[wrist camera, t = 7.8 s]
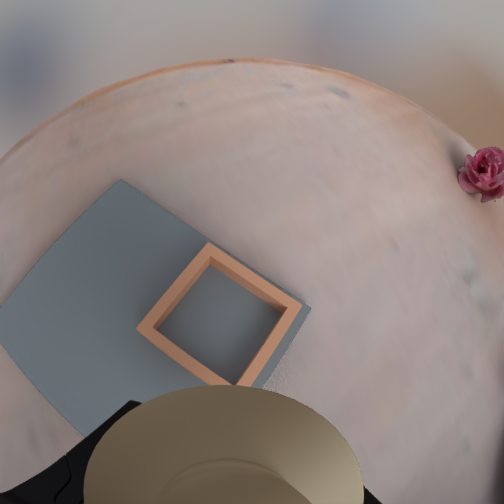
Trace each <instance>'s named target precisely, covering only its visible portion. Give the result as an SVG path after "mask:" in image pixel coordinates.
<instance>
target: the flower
mask: <svg viewBox="0 0 504 504" xmlns="http://www.w3.org/2000/svg"><path fill="white" fill-rule="evenodd" d="M503 170H504V151H503V150H501V149H500V148H497V147H488V148H484V149H480V150H478V151H477V152H476V154H475V156H474V157H472V156H471V155H470V154H469V155H467V157H466V159H465V167H461V168H460V169H459V170H458V171H459V172H460V173H459V176H458V177H459V184H460V186H461V187H462V188H463V189H464V190H465V191H466V192H468V193H470V194H475V193H481V194H482V198H481V202H482V203H484V202H487V201H490V200H493V199H498V198H501V197H503V196H504V172H503ZM495 202H496V201H495Z"/></svg>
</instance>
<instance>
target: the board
mask: <svg viewBox="0 0 504 504" xmlns="http://www.w3.org/2000/svg"><path fill="white" fill-rule="evenodd" d="M310 310H311V307H309V306H308V305H306V304H305V303H303V302H302V301H300V300H299V299H297V298H296V297H294V296H293V295H291V294H290V293H288V292H287V291H285V290H284V289H282V288H281V287H279V286H278V285H276V284H275V283H273V282H272V281H270V280H269V279H267V278H266V277H264V276H263V275H261V274H260V273H258V272H257V271H255V270H254V269H252V268H251V267H249V266H248V265H246V264H245V263H243V262H242V261H240V260H239V259H237V258H236V257H234V256H233V255H231V254H230V253H228V252H227V251H226V250H224V249H223V248H221V247H220V246H218V245H217V244H215V243H214V242H212V241H211V240H209V239H208V238H206V237H205V236H203V235H202V234H200V233H199V232H197V231H196V230H195V229H193V228H192V227H190V226H189V225H187V224H186V223H184V222H183V221H181V220H180V219H178V218H177V217H176V216H174V215H173V214H171V213H170V212H168V211H167V210H165V209H164V208H162V207H161V206H159V205H158V204H157V203H155V202H154V201H152V200H151V199H149V198H148V197H146V196H145V195H144V194H142V193H141V192H139V191H138V190H136V189H135V188H133V187H132V186H131V185H129V184H128V183H126V182H125V181H123V180H122V179H120V180H118V181H117V182H116V183H115V184H114V185H113V186H112V187H111V188H110V189H108V190H107V191H106V192H105V193H104V194H103V195H102V196H101V197H100V198H99V199H98V200H97V201H95V202H94V203H93V204H92V205H91V206H90V207H89V208H88V209H87V210H86V211H85V212H84V213H83V214H82V215H81V216H80V217H79V218H78V219H77V220H76V221H75V222H74V223H73V224H72V225H71V226H70V227H69V228H68V229H67V230H66V231H65V232H64V233H63V234H62V235H61V236H60V238H59V239H58V240H57V241H56V242H55V243H54V244H53V245H52V246H51V247H50V248H49V249H48V251H47V252H46V253H45V254H44V255H43V256H42V257H41V258H40V260H39V261H38V262H37V263H36V264H35V265H34V266H33V268H32V269H31V270H30V271H29V272H28V274H27V275H26V276H25V277H24V278H23V280H22V281H21V282H20V283H19V284H18V286H17V287H16V288H15V289H14V291H13V292H12V293H11V295H10V296H9V297H8V298H7V300H6V301H5V302H4V304H3V305H2V306H1V308H0V343H1V344H2V346H3V347H4V349H5V350H6V351H7V353H8V354H9V355H10V357H11V358H12V359H13V361H14V362H15V363H16V364H17V366H18V367H19V368H20V369H21V371H22V372H23V373H24V374H25V376H26V377H27V378H28V379H29V380H30V382H31V383H32V384H33V385H34V386H35V387H36V388H37V390H38V391H39V392H40V393H41V394H42V395H43V396H44V397H45V398H46V400H47V401H48V402H49V403H50V404H51V405H52V406H53V407H54V408H55V409H56V410H57V411H58V412H59V413H60V414H61V415H62V416H63V417H64V418H65V419H66V420H67V421H68V422H69V423H70V424H71V425H72V426H73V427H74V428H75V429H76V430H77V431H78V432H80V433H81V434H82V435H83V436H84V437H85V438H86V437H87V436H88V435H89V434H90V433H92V432H93V431H94V430H95V429H96V428H98V427H99V426H100V425H101V424H102V423H104V422H105V421H106V420H107V419H108V418H109V417H111V416H112V415H113V414H114V413H115V412H116V411H118V410H119V409H120V408H121V407H122V406H123V405H125V404H126V403H127V402H128V401H129V400H134V401H138V402H141V403H142V404H143V403H144V402H146V401H149V400H151V399H154V398H156V397H158V396H161V395H163V394H167V393H170V392H174V391H177V390H180V389H186V388H192V387H197V386H208V385H240V386H246V387H253V388H260V389H262V387H263V386H264V384H265V383H266V381H267V380H268V378H269V376H270V375H271V373H272V372H273V370H274V369H275V367H276V366H277V364H278V363H279V361H280V359H281V358H282V356H283V355H284V353H285V351H286V350H287V348H288V347H289V345H290V343H291V342H292V340H293V339H294V337H295V335H296V334H297V332H298V330H299V329H300V327H301V325H302V324H303V322H304V320H305V319H306V317H307V315H308V314H309V312H310Z"/></svg>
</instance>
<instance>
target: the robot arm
mask: <svg viewBox="0 0 504 504" xmlns="http://www.w3.org/2000/svg"><path fill="white" fill-rule="evenodd" d="M141 404H142V403H141V402H138V401H134V400H129V401H128V402H127V403H126V404H125V405H123V406H122V407H121V408H120V409H119V410H118V411H116V412H115V413H114V414H113V415H112V416H111V417H109V418H108V419H107V420H106V421H105V422H104V423H102V424H101V425H100V426H99V427H98V428H96V429H95V430H94V431H93V432H92V433H90V434H89V435H88V436H87V437H86V438H84V439H83V440H82V441H81V442H80V443H78V444H77V445H76V446H75V447H74V448H72V449H71V450H70V451H69V452H68V453H66V456H65V455H64V456H62V457H61V458H60V459H59V460H58V461H56V462H55V463H54V464H52V465H51V466H50V467H48V468H47V469H45V470H44V471H42V472H41V473H39V474H37V475H36V476H34V477H32V478H31V479H29V480H27V481H25V482H23V483H22V484H20V485H18V486H16V487H14V488H13V489H11V490H9V491H6V492H3V493H0V504H84V492H83V490H84V479H85V473H86V469H87V466H88V462H89V460H90V457H91V455H92V453H93V451H94V449H95V447H96V445H97V444H98V443H99V441H100V440H101V438H102V437H103V435H104V434H105V433H106V432H107V431H108V430H109V429H110V428H111V426H112V425H113V424H114V423H115V422H116V421H118V420H119V419H120V418H121V417H123V416H124V415H125V414H127V413H128V412H129V411H131V410H132V409H134V408H136V407H138V406H139V405H141ZM363 488H364V501H363V504H382V503H381V502H380V501H379V500H377V499H376V498H375V497H374V496H373V495H372V494H371V493H370V492H369V491H368V490H367V489H366V488H365V486H364V485H363Z"/></svg>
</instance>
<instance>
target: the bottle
mask: <svg viewBox="0 0 504 504" xmlns="http://www.w3.org/2000/svg"><path fill="white" fill-rule="evenodd" d="M83 492H84V504H363V501H364V488H363V479H362V475H361V471H360V467H359V464H358V462H357V459H356V457H355V455H354V452H353V451H352V449H351V448H350V446H349V444H348V443H347V441H346V440H345V438H344V437H343V436H342V435H341V434H340V432H339V431H338V430H337V429H336V428H335V427H334V426H333V425H332V424H331V423H330V422H329V421H327V420H326V419H325V418H324V417H323V416H321V415H320V414H318V413H317V412H315V411H314V410H313V409H311V408H309V407H308V406H306V405H304V404H302V403H300V402H298V401H296V400H294V399H291V398H289V397H286V396H284V395H281V394H278V393H275V392H271V391H267V390H263V389H260V388H253V387H246V386H240V385H208V386H197V387H192V388H186V389H180V390H177V391H174V392H170V393H167V394H163V395H161V396H158V397H156V398H154V399H151V400H149V401H146V402H144V403H143V404H141V405H139V406H138V407H136V408H134V409H132V410H131V411H129V412H128V413H127V414H125V415H124V416H123V417H121V418H120V419H119V420H118V421H116V422H115V423H114V424H113V425H112V426H111V428H110V429H109V430H108V431H107V432H106V433H105V434H104V435H103V437H102V438H101V440H100V441H99V443H98V444H97V445H96V447H95V449H94V451H93V453H92V455H91V457H90V460H89V462H88V466H87V469H86V473H85V479H84V490H83Z"/></svg>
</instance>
